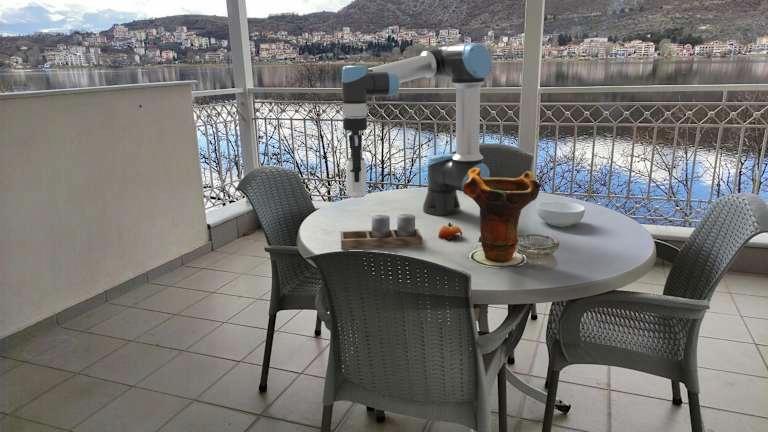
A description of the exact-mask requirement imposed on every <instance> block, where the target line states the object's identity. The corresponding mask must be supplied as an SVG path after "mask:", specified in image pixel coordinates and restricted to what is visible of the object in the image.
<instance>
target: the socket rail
mask: <svg viewBox="0 0 768 432" xmlns="http://www.w3.org/2000/svg"><path fill="white" fill-rule="evenodd" d="M396 217H397V219H396V220H397V221H396V222H397V223H396V225H397V227H396V228H397V229H396V228H395V229H390V228H391V227H390V225H391V224H390V223H391V222H390V221H391V219H390V215H387V214H374V215H371V230H347V231H346V230H345V231H344V230H343V231H340V244H341V245H340V247H341V248H340V249H341V250H348V249H349V250H350V248H355V249H375V248H376V249H377V248H404V247H406V248H407V247H423V236H422V235H421V232H420V231H419V228H416V215H414V214H412V213H401V214H398V215H397V216H396Z"/></svg>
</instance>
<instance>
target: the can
mask: <svg viewBox="0 0 768 432" xmlns="http://www.w3.org/2000/svg"><path fill="white" fill-rule="evenodd" d="M346 160H347V161H346V163H345V184H346V187H345V188H346V191H345V192H346V196H348V198H358V199H359V198H363V197H366V195H367V163H366V161H365V158H364V157H361V192H353V188H352V172H350V170H352V169H353V164H352V158H351V157H348V158H346Z"/></svg>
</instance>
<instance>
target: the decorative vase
mask: <svg viewBox="0 0 768 432" xmlns="http://www.w3.org/2000/svg"><path fill="white" fill-rule="evenodd" d="M468 176H469V180H468V181H467V182H466V183H465V184H464V186H463V192H462V193H463V194H465V195H466V196H468V197H469V198H471V199H472V200H473V201H474V202H475V203H476V205H478V208H479V232H480V236H479V237H478V241H477V243H481V247H482V248H477V247H478V245H476V246H475V250H473V251H471V253H469V256H468V258H469V259H468V261H471V262H474V264H477V265H479V266H483V267H487V268H492V269H493V268H497V269H500V268H501V267H518V266H524V264H526V263H527V261H528V260H527V259H528V258H527V257H526V256H525V255H526V254H524V255H522V254H523V253H522V254H519V253H517V252H518V251H516V247H517V245H518V243H519V240H518V226H519V220H520V216H521V214H522V213H521V212H522V210H523V209H524V208H525V207H526V206H527V205H529V204H530V203H532V202H534V201H535V200H536V199H537V197H538V195H539V193H540V190H541V188H542V185H541V183H540V182H538V181H537V180H535V177H534V174H533V173H532V172H531V171H529V170H527V171H525V172H523V174H522V175H521V176H519V177H516V178H510V177H489V178H483V177H481V176H480V169H479V168H473V169H470V170H469V171H468Z"/></svg>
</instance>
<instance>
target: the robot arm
mask: <svg viewBox="0 0 768 432" xmlns="http://www.w3.org/2000/svg"><path fill="white" fill-rule="evenodd" d="M492 66H493V59H492V55H491V52H490V51H489V49H488V48H487V46H485V45H484V44H482V43H478V42H476V43H475V42H469V43H468V42H467V43H448V44H444V45H441V46H438V47H435V48H432V49H429V50H425V51H422V52H421V53H420V55H418V56H413V57H409V58H405V59H401V60H398V61H393V62H389V63H385V64H381V65H378V66H377V65H376V66H373V67H370V68H367V67H366V66H365V65H344V66H343V67H342V71H341V90H342V91H341V93H342V94H341V95H342V105H341V106H342V116H343V118H342V129H343V130H344V131H348V132H349V131H350V132H351V133H350V135H349V134H348V141H349V149H350V158H352V164H353V169H352V170H350V172H352V188H353V192H361V158H362V157H361V156H362V155H361V153H362V152H361V151H362V141H363V135H362V134H360V131H366V130H367V129H368V118H367V116H368V115H367V113H368V111H367V110H368V109H369V107H370V106H368V105H367V103H368V102H367V101H368V98H369V97H390V96H395V95H396V94H397V93H398V91H399V89H400V84H402V83H406V82H409V81H412V80H416V79H420V78H423V77H425V78H427V79H430V78H434V77H435V78H436V77H449V78H451V84H452V85H453V86H454V87H455V93H456V94H455V122H456V123H455V153H445V154H443V153H442V154H434V155H431V156H430V157H429V158H428V163H427V193H426V196H425V198H424V201H423V204H422V212H424V213H425V214H428V215H434V216H453V215H457V214H458V213H460V212H461V204H460V200H459V196H458V193H457V191H458V192H462V193H464V192H463V186H464V184H465V183H466V182H467V181H468V180H469V176H468V171H469V170H470V169H473V168H479V169H480V176H481V177H483V178H490V173H491V172H490V169H489V167H488V166H487V165H486V164H485V163H484V155H482V154H481V152H480V133H481V132H480V126H481V125H480V121H481V120H480V118H481V117H480V116H481V112H480V111H481V87H482V85H483V84H484V83H485V77H487V76H489V74H490V71H491V69H492Z"/></svg>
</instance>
